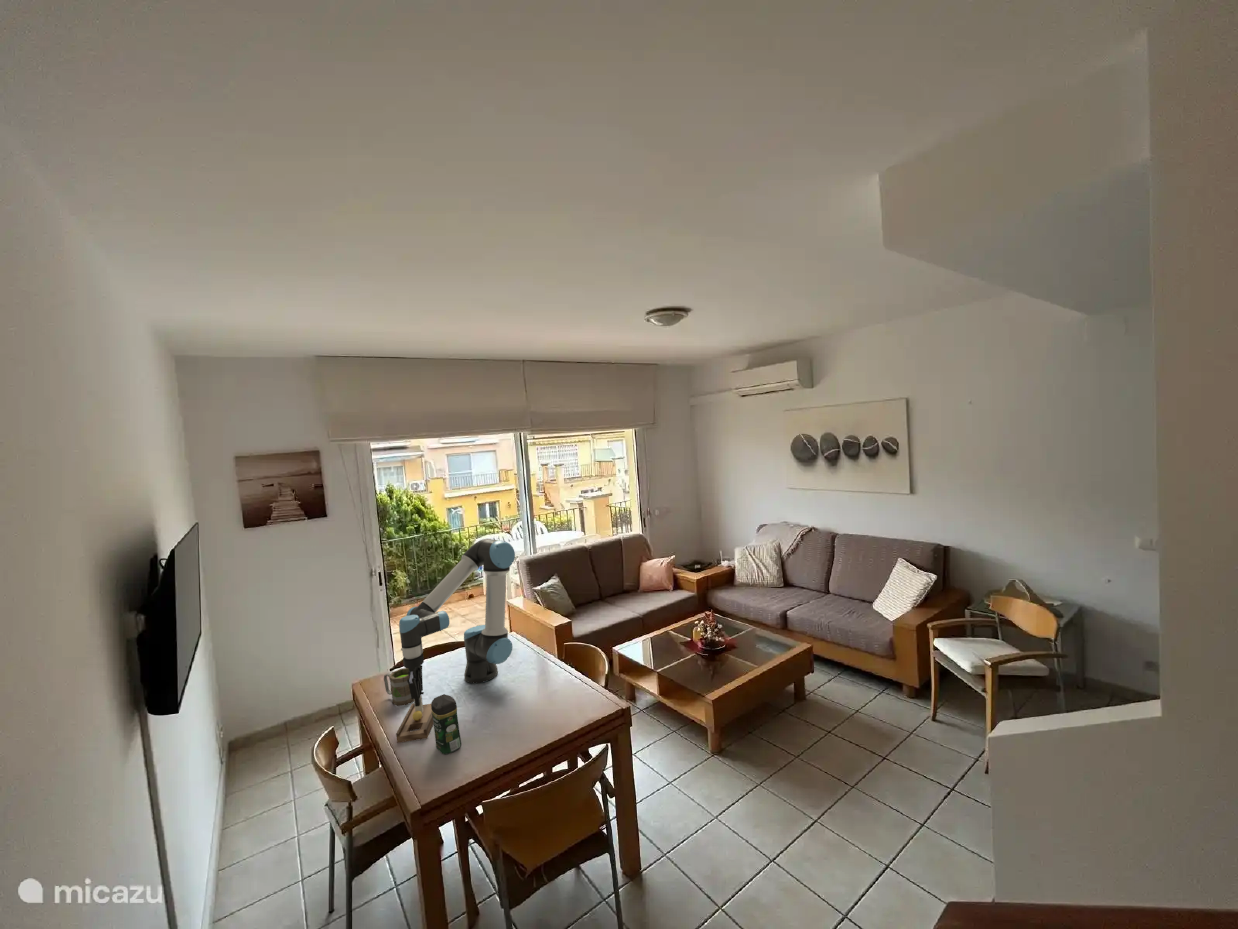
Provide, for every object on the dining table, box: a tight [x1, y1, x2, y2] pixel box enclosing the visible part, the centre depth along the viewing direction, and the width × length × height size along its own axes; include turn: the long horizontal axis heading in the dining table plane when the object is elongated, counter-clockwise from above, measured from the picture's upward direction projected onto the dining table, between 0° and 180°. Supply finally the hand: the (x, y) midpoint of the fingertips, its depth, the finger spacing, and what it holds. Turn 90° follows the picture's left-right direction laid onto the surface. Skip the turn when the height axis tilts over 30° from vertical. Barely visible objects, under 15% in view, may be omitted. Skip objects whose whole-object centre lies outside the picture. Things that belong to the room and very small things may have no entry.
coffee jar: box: [430, 693, 462, 755], centre depth 190 cm, size 10×8×19 cm
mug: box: [383, 667, 414, 707], centre depth 230 cm, size 16×11×12 cm
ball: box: [412, 711, 422, 721], centre depth 206 cm, size 4×4×4 cm
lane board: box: [395, 702, 434, 744], centre depth 208 cm, size 11×22×4 cm, turn 7°
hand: (419, 712), depth 210 cm, fingers closed
